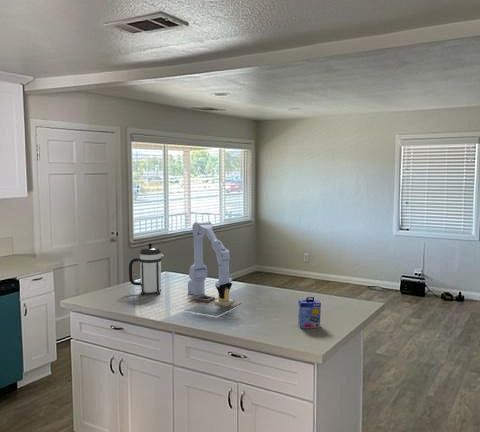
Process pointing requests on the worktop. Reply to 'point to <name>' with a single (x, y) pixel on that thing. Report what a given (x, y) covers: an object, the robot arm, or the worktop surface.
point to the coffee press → (148, 270)
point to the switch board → (216, 304)
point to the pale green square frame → (224, 302)
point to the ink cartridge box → (309, 313)
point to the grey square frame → (203, 299)
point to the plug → (225, 296)
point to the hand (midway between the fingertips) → (224, 297)
